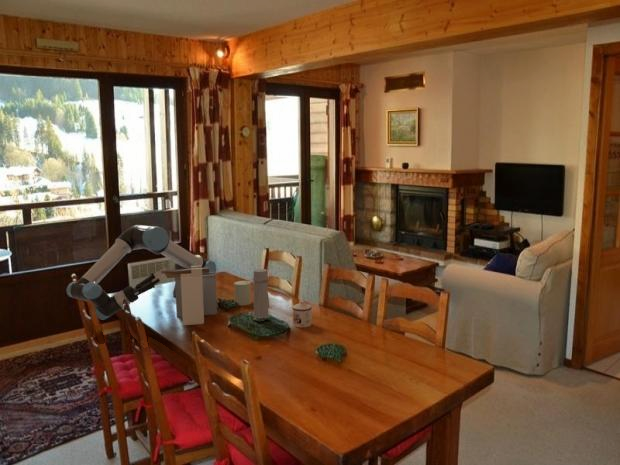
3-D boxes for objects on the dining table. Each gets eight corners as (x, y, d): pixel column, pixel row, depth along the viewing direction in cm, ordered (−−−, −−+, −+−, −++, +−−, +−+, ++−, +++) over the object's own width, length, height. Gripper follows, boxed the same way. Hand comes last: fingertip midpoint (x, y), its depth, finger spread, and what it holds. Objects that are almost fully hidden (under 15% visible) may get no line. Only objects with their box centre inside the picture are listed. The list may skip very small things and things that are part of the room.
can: (250, 305, 289) (249, 283, 287) (233, 305, 289) (232, 283, 287) (252, 300, 298) (251, 279, 296) (235, 301, 298) (235, 279, 296)
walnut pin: (161, 277, 255) (161, 271, 255) (208, 273, 263) (207, 267, 263) (162, 278, 253) (162, 272, 252) (209, 274, 261) (209, 268, 260)
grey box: (176, 313, 276) (175, 274, 273) (216, 310, 280) (214, 272, 277) (176, 317, 269) (174, 277, 266) (217, 314, 274) (215, 274, 271)
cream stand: (182, 319, 266) (180, 266, 262) (203, 317, 268) (201, 265, 264) (182, 325, 256) (180, 270, 252) (204, 323, 259) (202, 269, 255)
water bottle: (262, 323, 258) (261, 272, 254) (250, 320, 263) (248, 270, 259) (274, 318, 265) (273, 269, 262) (262, 316, 270) (261, 267, 266)
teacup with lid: (288, 324, 257) (288, 300, 255) (304, 320, 262) (304, 297, 260) (303, 330, 247) (303, 306, 245) (319, 327, 252) (319, 303, 251)
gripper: (134, 296, 266) (171, 273, 269) (128, 310, 242) (169, 284, 244) (125, 283, 264) (162, 260, 267) (119, 297, 240) (160, 271, 243)
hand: (166, 272), depth 256 cm, fingers open, 13 cm apart
